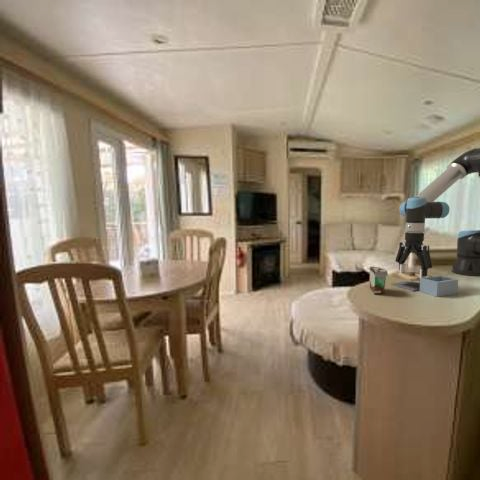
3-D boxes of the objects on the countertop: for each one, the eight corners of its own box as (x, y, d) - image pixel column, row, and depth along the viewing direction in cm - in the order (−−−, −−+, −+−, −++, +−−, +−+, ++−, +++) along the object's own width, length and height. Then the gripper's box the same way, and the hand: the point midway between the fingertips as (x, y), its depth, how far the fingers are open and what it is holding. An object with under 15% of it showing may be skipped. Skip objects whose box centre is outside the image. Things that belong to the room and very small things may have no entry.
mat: (410, 282, 153) (410, 280, 153) (433, 288, 141) (433, 286, 141) (391, 284, 148) (391, 283, 148) (413, 291, 137) (413, 289, 137)
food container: (390, 296, 131) (391, 272, 129) (374, 295, 132) (375, 272, 131) (383, 288, 143) (384, 266, 141) (368, 287, 144) (369, 266, 143)
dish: (439, 288, 141) (440, 275, 140) (457, 293, 133) (458, 279, 133) (419, 291, 137) (420, 278, 136) (436, 296, 129) (437, 282, 128)
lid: (413, 274, 151) (413, 269, 151) (432, 278, 142) (432, 273, 142) (392, 276, 147) (392, 271, 147) (410, 281, 138) (410, 276, 137)
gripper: (388, 230, 151) (386, 275, 154) (431, 234, 130) (428, 287, 133) (400, 229, 154) (398, 274, 156) (444, 234, 133) (440, 285, 135)
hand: (411, 280), depth 145 cm, fingers closed on lid, 10 cm apart
